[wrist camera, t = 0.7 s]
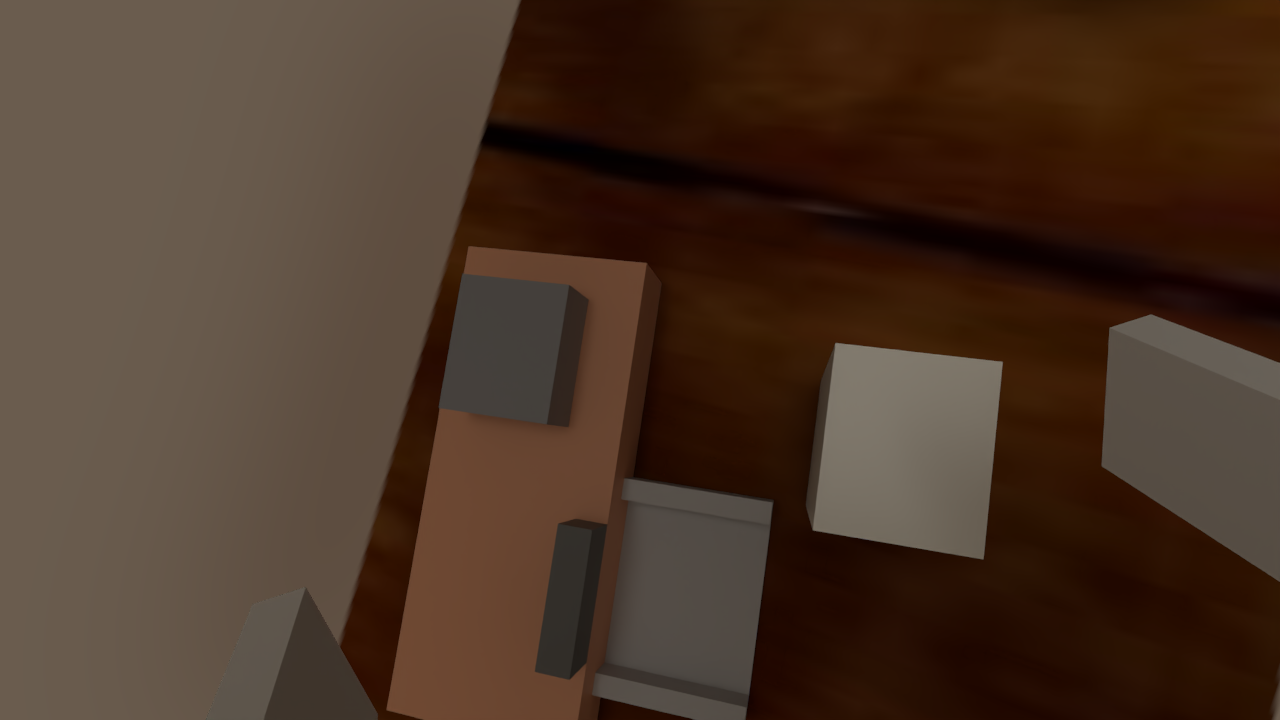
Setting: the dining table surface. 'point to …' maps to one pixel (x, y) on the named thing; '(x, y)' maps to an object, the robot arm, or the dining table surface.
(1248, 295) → the dining table surface
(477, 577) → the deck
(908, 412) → the tall grey brick
